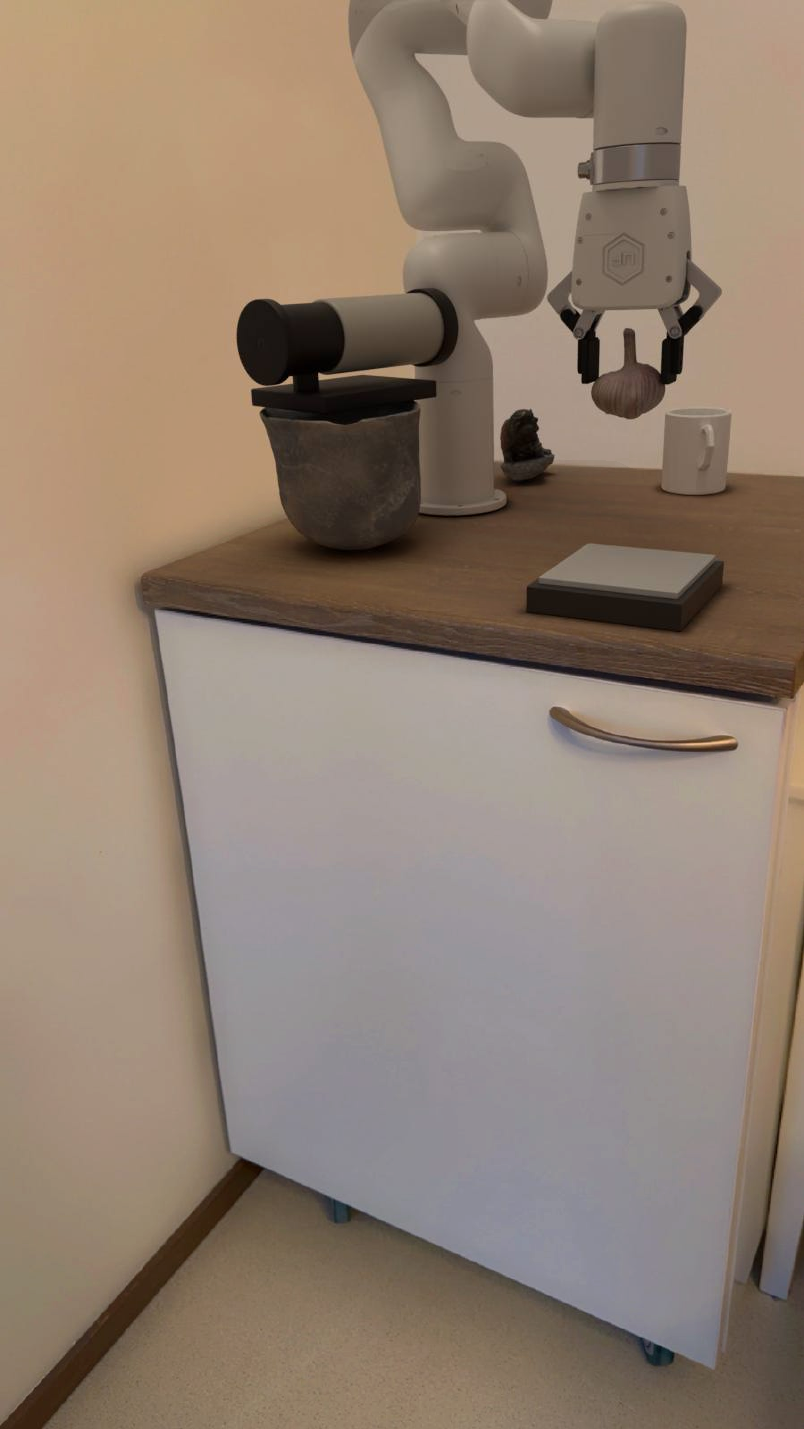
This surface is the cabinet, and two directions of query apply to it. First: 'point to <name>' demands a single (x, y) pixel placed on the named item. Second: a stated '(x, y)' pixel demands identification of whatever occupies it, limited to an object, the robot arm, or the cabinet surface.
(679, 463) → the mug
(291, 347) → the light fixture
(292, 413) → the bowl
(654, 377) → the garlic bulb
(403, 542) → the cabinet surface
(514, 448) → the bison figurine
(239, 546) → the cabinet surface
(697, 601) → the scale
